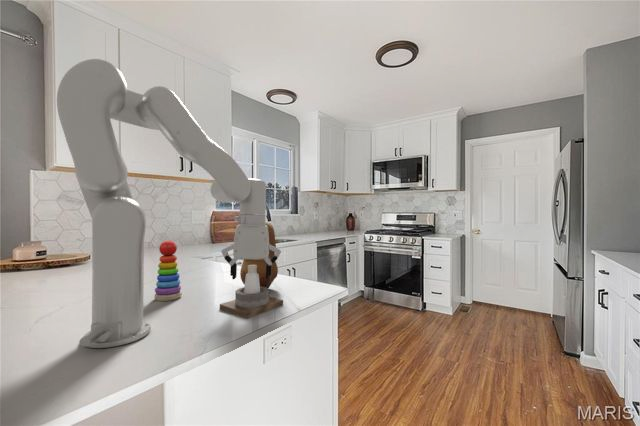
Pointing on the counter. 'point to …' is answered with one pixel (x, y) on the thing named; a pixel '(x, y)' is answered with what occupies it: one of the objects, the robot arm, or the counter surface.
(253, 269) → the pepper shaker
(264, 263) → the butternut squash
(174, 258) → the stacking toy
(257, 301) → the shaft housing
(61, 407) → the counter surface
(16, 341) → the counter surface
